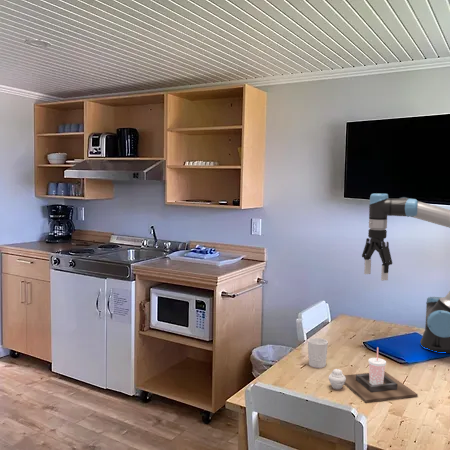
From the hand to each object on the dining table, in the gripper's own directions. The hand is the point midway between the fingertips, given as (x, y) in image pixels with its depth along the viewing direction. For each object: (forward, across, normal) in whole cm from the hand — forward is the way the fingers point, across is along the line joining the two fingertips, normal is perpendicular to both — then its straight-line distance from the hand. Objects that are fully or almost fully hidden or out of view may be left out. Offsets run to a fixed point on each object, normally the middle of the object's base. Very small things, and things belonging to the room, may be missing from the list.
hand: (375, 277), depth 204 cm
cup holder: (+33, +35, -20) cm, 52 cm away
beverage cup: (+32, +35, -20) cm, 51 cm away
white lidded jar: (+33, +32, -34) cm, 57 cm away
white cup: (+33, +11, -32) cm, 47 cm away
